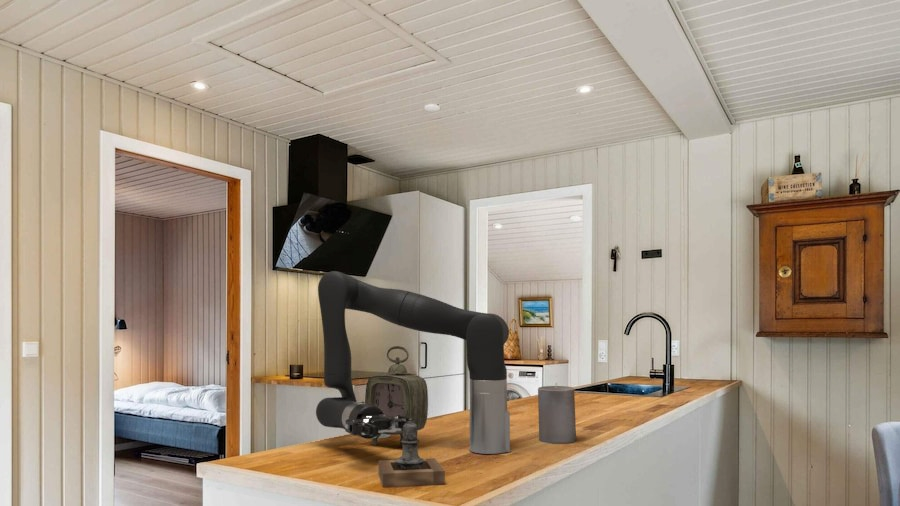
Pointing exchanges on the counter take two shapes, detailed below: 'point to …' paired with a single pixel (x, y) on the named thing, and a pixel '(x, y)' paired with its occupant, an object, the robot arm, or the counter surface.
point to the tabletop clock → (399, 395)
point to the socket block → (411, 474)
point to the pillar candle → (556, 414)
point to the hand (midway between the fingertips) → (392, 429)
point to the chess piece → (410, 449)
